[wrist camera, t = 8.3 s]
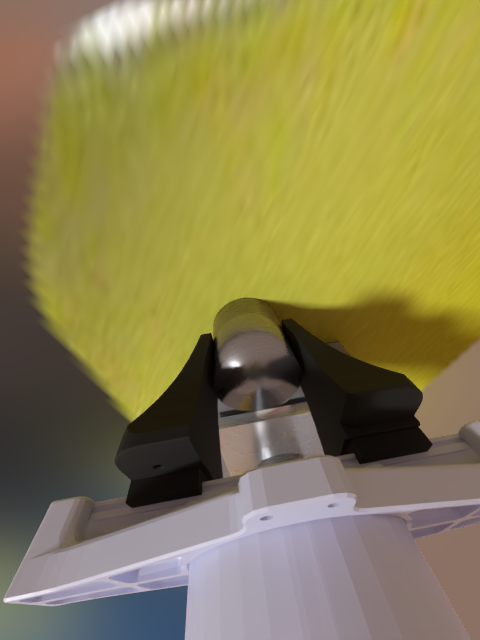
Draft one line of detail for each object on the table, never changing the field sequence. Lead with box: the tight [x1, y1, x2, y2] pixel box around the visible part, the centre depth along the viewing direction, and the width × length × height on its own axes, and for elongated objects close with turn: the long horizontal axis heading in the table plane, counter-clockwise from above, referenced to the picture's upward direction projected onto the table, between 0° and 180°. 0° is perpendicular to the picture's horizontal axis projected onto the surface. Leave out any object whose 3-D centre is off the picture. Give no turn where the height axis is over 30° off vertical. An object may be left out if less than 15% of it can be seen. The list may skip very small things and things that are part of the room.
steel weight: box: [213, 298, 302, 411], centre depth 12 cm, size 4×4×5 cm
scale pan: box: [218, 402, 324, 477], centre depth 18 cm, size 11×9×1 cm
